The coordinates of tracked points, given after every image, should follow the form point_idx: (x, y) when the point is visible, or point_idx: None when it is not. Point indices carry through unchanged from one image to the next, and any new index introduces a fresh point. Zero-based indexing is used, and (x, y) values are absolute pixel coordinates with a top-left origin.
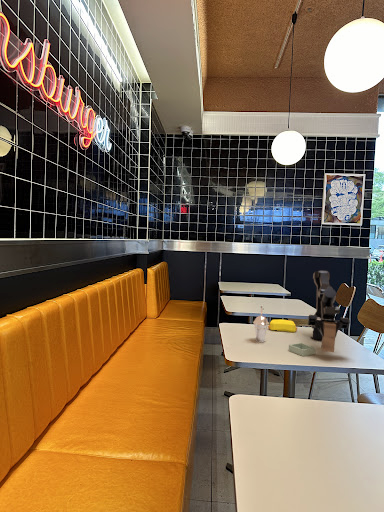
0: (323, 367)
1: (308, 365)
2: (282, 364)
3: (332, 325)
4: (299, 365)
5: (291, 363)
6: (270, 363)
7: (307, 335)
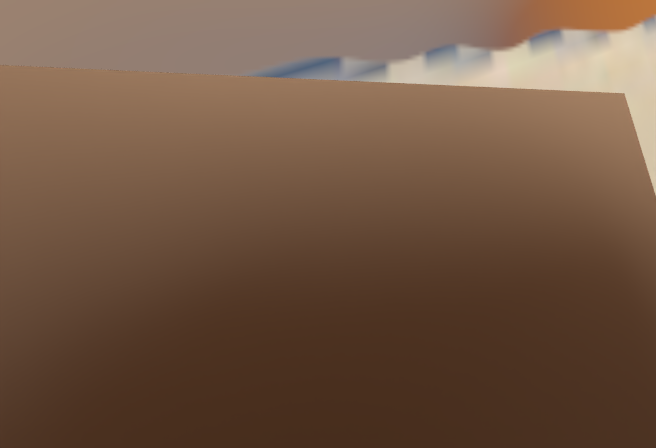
0: (303, 63)
1: (419, 72)
2: (582, 37)
3: (233, 101)
4: (480, 51)
5: (536, 75)
6: (647, 33)
7: None
